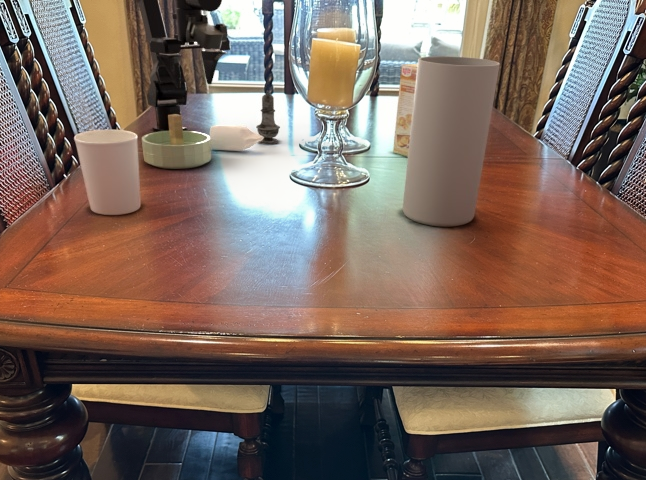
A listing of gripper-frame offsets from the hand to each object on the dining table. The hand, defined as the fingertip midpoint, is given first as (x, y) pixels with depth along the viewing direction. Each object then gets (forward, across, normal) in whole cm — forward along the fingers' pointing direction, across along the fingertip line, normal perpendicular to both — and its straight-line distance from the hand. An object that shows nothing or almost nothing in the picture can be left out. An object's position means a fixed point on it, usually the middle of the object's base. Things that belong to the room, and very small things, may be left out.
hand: (194, 85), depth 141 cm
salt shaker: (+13, +14, -10) cm, 22 cm away
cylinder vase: (+13, -4, -69) cm, 70 cm away
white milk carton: (+13, +2, -12) cm, 18 cm away
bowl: (+13, -14, -10) cm, 22 cm away
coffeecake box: (+13, +35, -42) cm, 56 cm away
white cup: (+13, -41, -27) cm, 51 cm away
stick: (+12, -14, -10) cm, 21 cm away
